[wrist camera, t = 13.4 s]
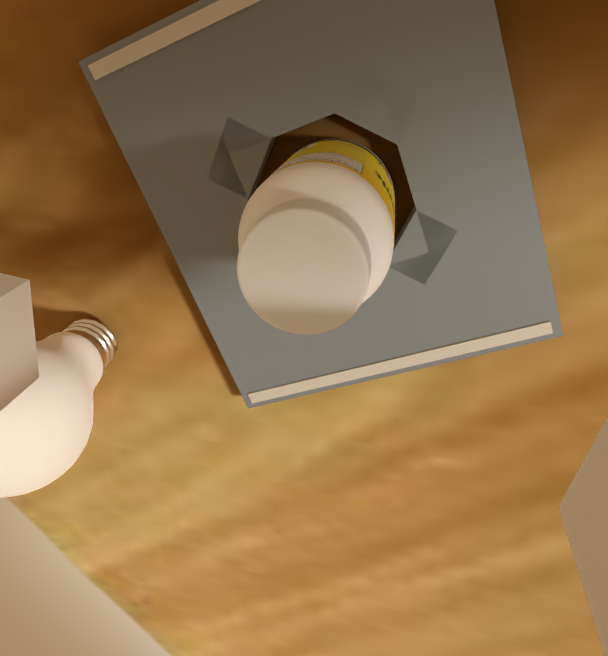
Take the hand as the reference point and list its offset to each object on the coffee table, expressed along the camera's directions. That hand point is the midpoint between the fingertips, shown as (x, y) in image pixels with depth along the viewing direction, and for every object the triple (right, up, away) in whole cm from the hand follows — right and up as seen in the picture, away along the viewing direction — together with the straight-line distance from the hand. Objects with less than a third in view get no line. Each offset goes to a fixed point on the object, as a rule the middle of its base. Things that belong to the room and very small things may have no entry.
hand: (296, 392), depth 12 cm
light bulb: (-11, +1, +18) cm, 21 cm away
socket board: (+1, +7, +12) cm, 14 cm away
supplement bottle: (+2, +8, +12) cm, 14 cm away
